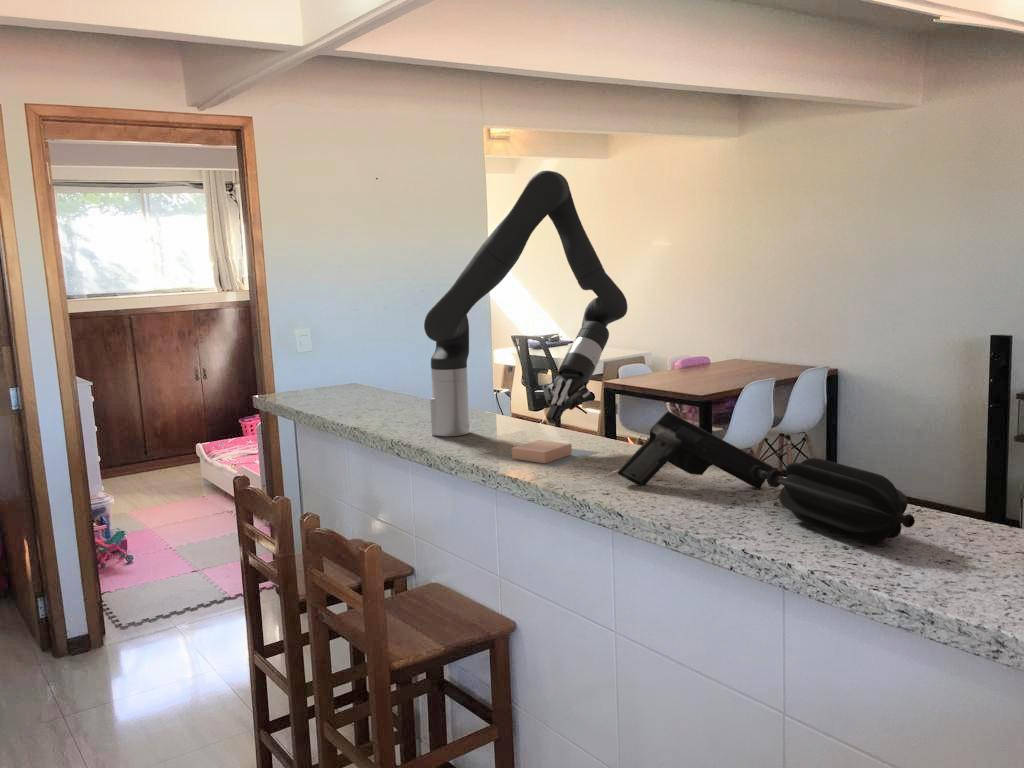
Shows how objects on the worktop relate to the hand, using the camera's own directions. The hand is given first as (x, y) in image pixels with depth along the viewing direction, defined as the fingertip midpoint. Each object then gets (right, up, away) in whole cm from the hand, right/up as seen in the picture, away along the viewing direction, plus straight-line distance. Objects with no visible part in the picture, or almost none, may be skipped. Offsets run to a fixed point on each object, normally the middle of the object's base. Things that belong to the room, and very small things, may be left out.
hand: (551, 421), depth 187 cm
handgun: (+26, -11, -29) cm, 40 cm away
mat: (-1, -8, 0) cm, 8 cm away
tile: (+1, -6, +2) cm, 6 cm away
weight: (+41, -14, -55) cm, 69 cm away
